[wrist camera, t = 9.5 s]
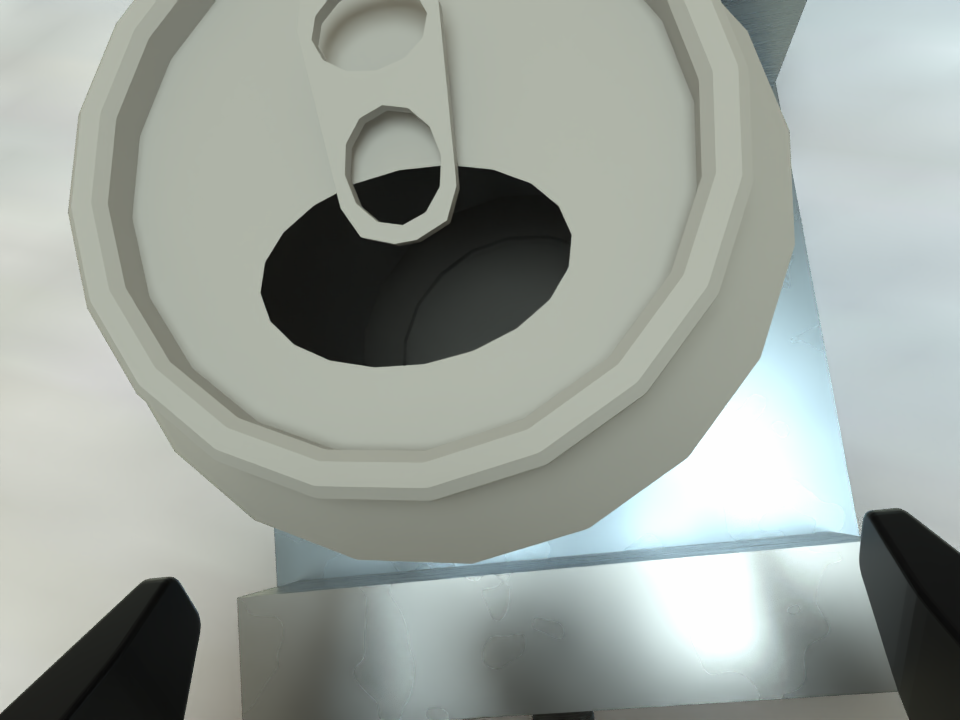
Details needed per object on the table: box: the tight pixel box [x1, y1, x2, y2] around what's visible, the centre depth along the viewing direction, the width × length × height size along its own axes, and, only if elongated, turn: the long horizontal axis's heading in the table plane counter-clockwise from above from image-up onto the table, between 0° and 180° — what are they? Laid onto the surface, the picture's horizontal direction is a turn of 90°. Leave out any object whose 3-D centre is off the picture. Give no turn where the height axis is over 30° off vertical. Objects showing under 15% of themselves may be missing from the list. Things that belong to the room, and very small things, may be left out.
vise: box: [237, 0, 898, 720], centre depth 15 cm, size 22×13×7 cm, turn 6°
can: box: [68, 0, 795, 564], centre depth 13 cm, size 8×8×12 cm
